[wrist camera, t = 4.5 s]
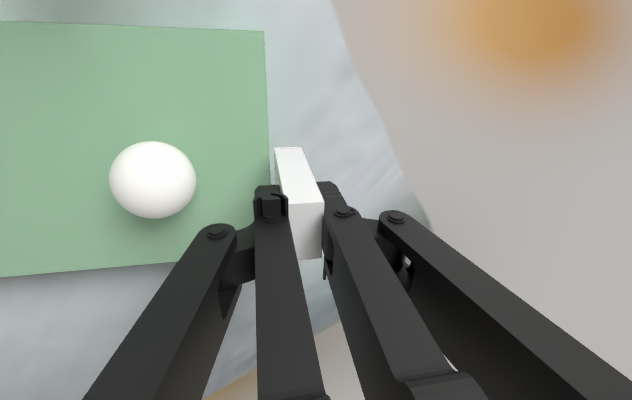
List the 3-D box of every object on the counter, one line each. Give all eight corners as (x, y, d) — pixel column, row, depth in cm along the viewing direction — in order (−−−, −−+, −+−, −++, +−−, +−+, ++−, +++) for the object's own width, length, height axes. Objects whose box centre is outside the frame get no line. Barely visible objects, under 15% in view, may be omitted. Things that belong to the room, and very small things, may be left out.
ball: (116, 132, 16) (80, 158, 13) (195, 130, 17) (181, 155, 13) (135, 198, 18) (108, 237, 15) (205, 194, 19) (195, 230, 15)
